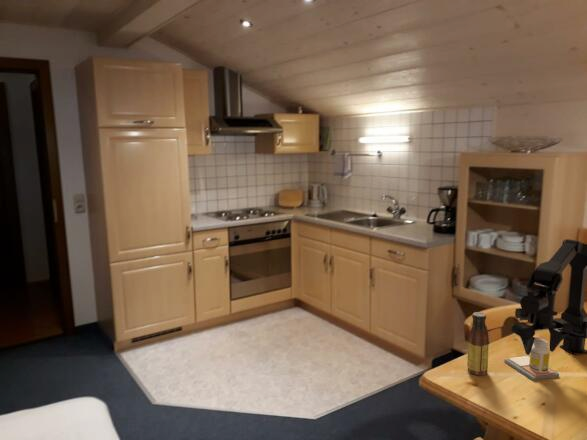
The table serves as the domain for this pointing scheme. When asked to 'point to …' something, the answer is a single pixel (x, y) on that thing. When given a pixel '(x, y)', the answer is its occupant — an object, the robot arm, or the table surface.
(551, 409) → the table surface
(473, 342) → the sauce bottle
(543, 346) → the supplement bottle
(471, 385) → the table surface
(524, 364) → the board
